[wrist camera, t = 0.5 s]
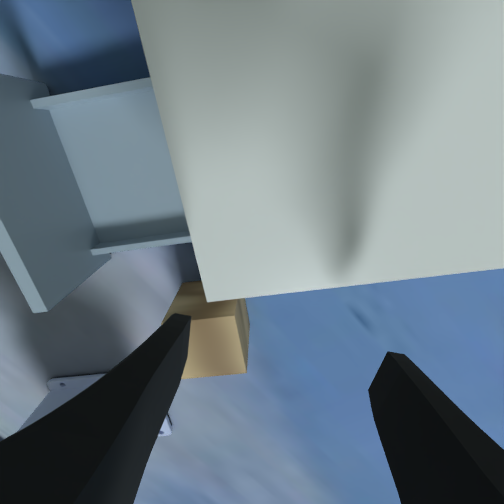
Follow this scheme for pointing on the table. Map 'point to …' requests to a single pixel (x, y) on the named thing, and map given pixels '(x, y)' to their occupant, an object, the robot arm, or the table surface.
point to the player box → (332, 137)
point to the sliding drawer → (81, 183)
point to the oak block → (212, 332)
